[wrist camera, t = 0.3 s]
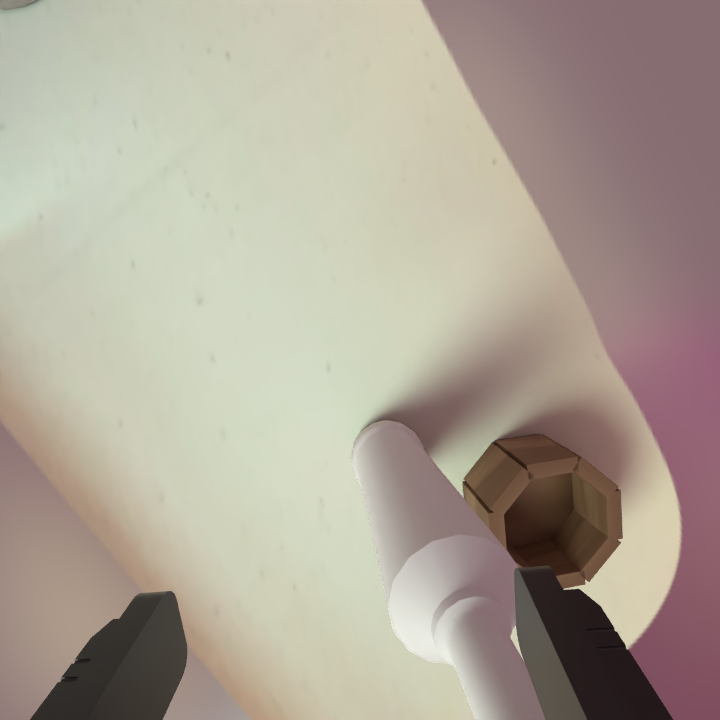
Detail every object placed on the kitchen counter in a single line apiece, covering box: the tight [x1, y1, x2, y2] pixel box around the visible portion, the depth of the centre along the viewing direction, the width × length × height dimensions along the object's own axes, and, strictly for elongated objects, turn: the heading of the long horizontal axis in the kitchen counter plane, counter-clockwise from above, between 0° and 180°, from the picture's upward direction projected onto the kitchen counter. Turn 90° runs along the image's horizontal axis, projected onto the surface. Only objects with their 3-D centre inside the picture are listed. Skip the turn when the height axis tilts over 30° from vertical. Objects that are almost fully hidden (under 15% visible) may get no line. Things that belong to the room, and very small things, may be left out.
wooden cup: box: [463, 434, 623, 589], centre depth 32 cm, size 9×9×5 cm
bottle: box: [351, 420, 546, 720], centre depth 21 cm, size 5×5×25 cm
